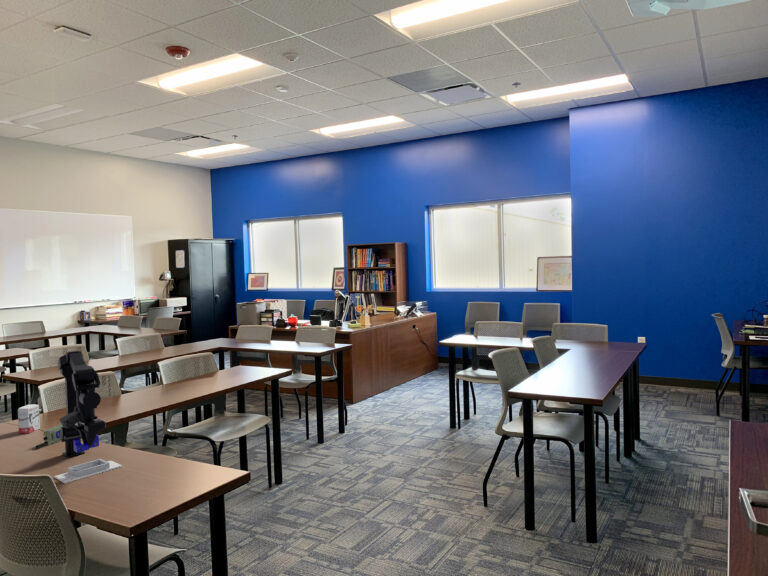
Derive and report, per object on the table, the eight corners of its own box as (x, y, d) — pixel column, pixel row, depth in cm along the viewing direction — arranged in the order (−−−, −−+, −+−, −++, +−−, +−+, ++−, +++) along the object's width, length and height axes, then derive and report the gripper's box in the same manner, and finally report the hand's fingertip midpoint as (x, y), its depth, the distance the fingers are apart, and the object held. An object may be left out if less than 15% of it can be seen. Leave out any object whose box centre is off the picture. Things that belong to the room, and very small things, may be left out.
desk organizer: (54, 477, 203) (54, 470, 203) (111, 462, 218) (110, 455, 218) (64, 483, 197) (64, 476, 197) (121, 466, 212) (121, 460, 212)
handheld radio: (81, 432, 260) (40, 450, 235) (75, 432, 261) (33, 450, 236) (80, 418, 260) (38, 434, 235) (74, 418, 260) (32, 434, 236)
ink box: (28, 433, 259) (27, 408, 259) (18, 434, 259) (17, 408, 259) (40, 428, 268) (39, 403, 268) (30, 428, 268) (29, 403, 268)
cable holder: (77, 452, 203) (76, 441, 203) (73, 450, 205) (73, 439, 205) (100, 446, 209) (100, 436, 208) (97, 444, 211) (96, 434, 211)
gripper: (51, 403, 206) (53, 446, 207) (72, 411, 194) (74, 456, 195) (83, 397, 215) (85, 438, 215) (105, 405, 203) (107, 448, 203)
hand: (87, 445), depth 207 cm, fingers closed on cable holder, 3 cm apart
